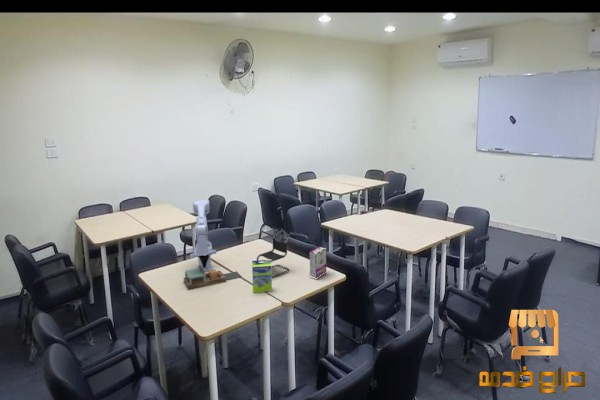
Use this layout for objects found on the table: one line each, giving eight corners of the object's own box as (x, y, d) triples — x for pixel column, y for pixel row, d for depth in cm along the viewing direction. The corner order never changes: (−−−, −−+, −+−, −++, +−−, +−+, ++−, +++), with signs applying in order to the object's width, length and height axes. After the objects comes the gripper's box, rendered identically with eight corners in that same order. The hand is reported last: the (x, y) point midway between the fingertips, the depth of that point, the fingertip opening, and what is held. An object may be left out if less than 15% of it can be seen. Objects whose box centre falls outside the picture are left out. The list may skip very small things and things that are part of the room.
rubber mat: (222, 274, 238) (222, 274, 238) (236, 271, 242) (236, 271, 242) (227, 280, 230) (227, 279, 230) (241, 277, 234) (241, 276, 234)
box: (253, 293, 214) (252, 263, 210) (252, 289, 218) (251, 260, 214) (272, 291, 216) (271, 262, 212) (271, 288, 220) (270, 259, 216)
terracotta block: (209, 279, 232) (208, 270, 231) (215, 278, 234) (215, 269, 232) (211, 282, 228) (210, 273, 227) (217, 280, 230) (217, 272, 229)
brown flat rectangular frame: (183, 281, 229) (183, 277, 228) (220, 274, 239) (220, 270, 238) (188, 289, 219) (188, 285, 218) (226, 281, 229) (226, 277, 228)
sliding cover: (185, 277, 229) (184, 267, 227) (200, 274, 233) (200, 264, 231) (189, 284, 219) (189, 274, 217) (205, 281, 223) (205, 271, 221)
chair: (291, 271, 243) (291, 237, 238) (270, 279, 231) (269, 244, 226) (278, 265, 252) (277, 232, 247) (256, 273, 240) (255, 239, 235)
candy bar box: (319, 271, 241) (319, 246, 238) (326, 273, 238) (326, 248, 235) (309, 277, 233) (309, 251, 229) (316, 279, 230) (316, 253, 226)
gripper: (191, 249, 217) (193, 272, 220) (217, 244, 224) (218, 267, 227) (188, 245, 223) (190, 267, 226) (213, 241, 230) (215, 263, 233)
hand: (204, 267), depth 227 cm, fingers closed
